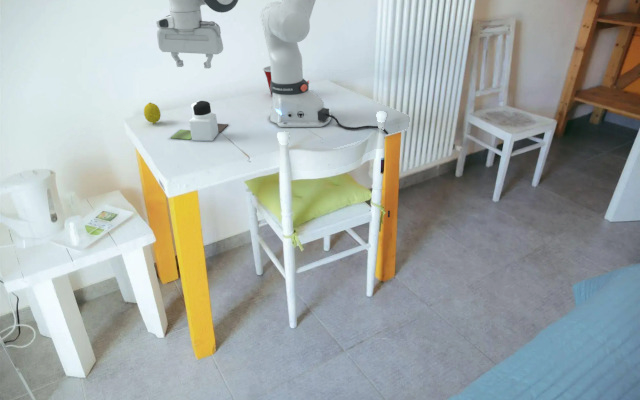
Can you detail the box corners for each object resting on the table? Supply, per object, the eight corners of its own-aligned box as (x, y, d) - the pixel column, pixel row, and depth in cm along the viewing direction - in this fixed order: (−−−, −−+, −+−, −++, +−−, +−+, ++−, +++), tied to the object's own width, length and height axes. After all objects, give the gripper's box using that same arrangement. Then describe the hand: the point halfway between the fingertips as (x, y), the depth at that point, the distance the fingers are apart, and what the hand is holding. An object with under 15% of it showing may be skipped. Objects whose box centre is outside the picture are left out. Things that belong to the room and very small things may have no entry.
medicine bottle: (218, 132, 159) (214, 99, 153) (212, 141, 153) (207, 106, 147) (198, 132, 160) (193, 98, 154) (191, 140, 154) (185, 106, 148)
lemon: (165, 123, 168) (160, 102, 164) (151, 127, 165) (146, 106, 161) (157, 119, 171) (153, 98, 167) (143, 124, 168) (138, 102, 164)
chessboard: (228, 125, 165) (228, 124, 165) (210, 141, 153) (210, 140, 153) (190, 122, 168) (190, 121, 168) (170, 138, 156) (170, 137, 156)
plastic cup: (279, 89, 199) (277, 61, 193) (296, 95, 193) (294, 66, 186) (259, 96, 192) (256, 67, 186) (276, 101, 186) (274, 71, 180)
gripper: (223, 19, 138) (228, 66, 145) (162, 17, 143) (170, 63, 150) (214, 23, 133) (220, 71, 140) (150, 21, 137) (159, 68, 144)
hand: (194, 67), depth 145 cm, fingers open, 8 cm apart
